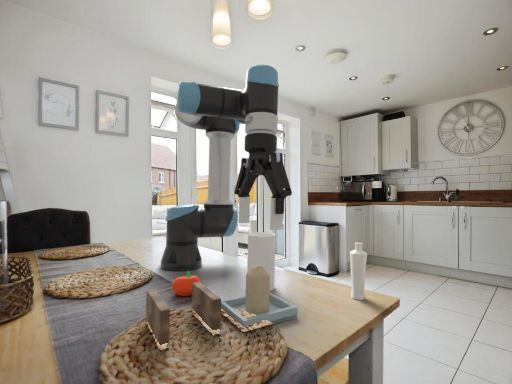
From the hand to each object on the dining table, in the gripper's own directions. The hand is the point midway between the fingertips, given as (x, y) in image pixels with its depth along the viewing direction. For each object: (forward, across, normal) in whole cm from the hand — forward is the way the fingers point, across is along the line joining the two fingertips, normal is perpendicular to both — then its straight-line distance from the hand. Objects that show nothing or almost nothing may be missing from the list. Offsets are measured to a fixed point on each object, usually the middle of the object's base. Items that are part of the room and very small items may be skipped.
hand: (258, 226), depth 64 cm
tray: (+20, 0, 0) cm, 20 cm away
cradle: (+20, -2, -17) cm, 27 cm away
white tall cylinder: (+21, -15, +11) cm, 28 cm away
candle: (+20, 0, 0) cm, 20 cm away
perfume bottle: (+21, +5, +30) cm, 37 cm away
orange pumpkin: (+21, -20, -10) cm, 30 cm away
